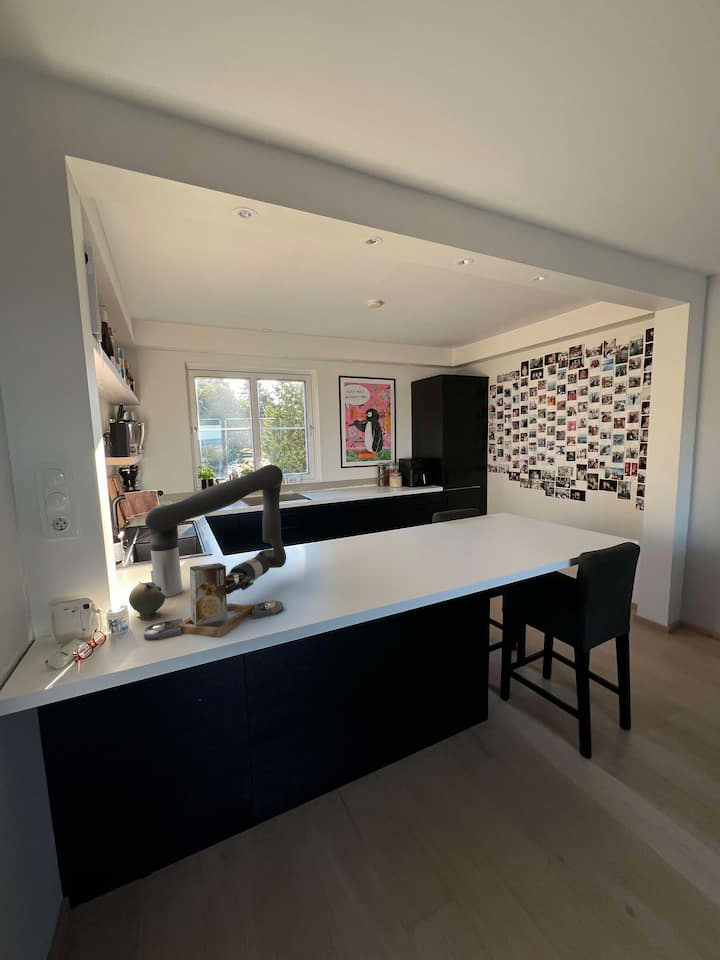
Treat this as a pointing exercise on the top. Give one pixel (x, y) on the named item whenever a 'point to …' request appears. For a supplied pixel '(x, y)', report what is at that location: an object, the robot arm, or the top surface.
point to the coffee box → (208, 593)
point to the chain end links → (171, 627)
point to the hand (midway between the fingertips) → (215, 590)
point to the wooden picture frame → (244, 611)
